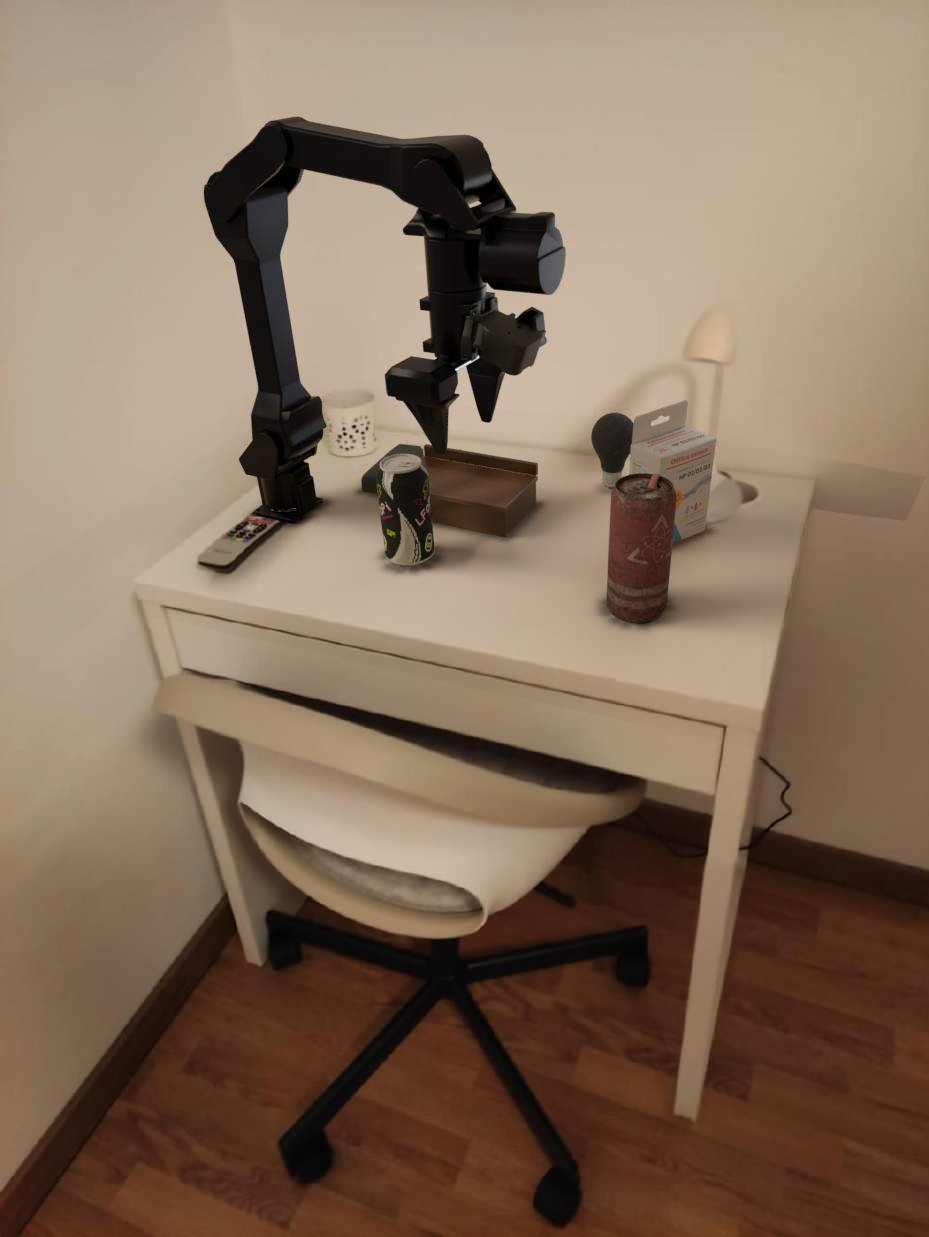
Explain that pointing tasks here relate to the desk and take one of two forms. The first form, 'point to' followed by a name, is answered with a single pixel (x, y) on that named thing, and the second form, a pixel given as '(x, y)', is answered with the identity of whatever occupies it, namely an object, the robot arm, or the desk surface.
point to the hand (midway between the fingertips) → (464, 437)
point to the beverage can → (405, 510)
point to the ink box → (676, 463)
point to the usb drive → (370, 476)
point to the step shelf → (479, 490)
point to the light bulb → (612, 445)
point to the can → (640, 546)
